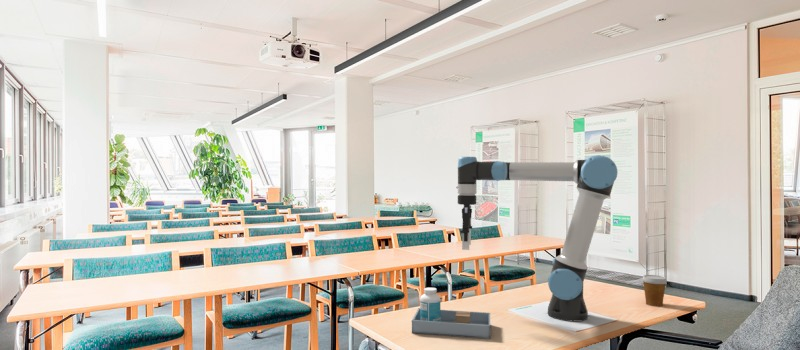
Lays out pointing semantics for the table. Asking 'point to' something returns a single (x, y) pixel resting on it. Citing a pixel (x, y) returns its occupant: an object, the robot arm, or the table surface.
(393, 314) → the table surface
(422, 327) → the tote
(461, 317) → the walnut cube
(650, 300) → the disposable coffee cup
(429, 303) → the pill bottle
